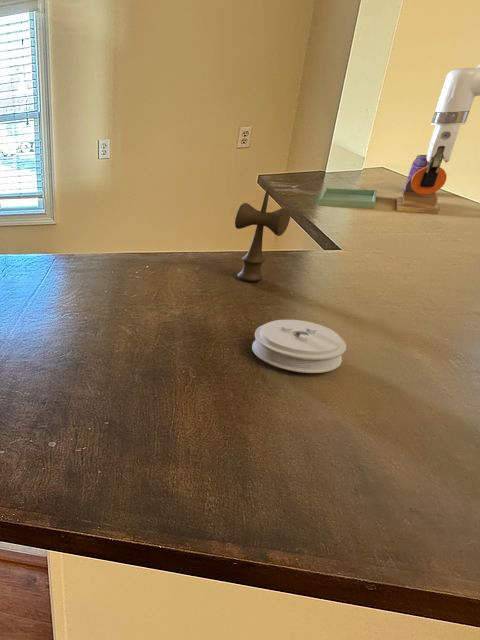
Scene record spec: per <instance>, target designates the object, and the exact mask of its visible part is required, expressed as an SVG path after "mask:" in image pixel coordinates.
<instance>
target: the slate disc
mask: <svg viewBox="0 0 480 640" xmlns="http://www.w3.org/2000/svg"><path fill="white" fill-rule="evenodd" d="M411 180H412V177H411V178H410V179H409V181H408V182H407V184H406V183H405V184H406V192H412V193H417V192H415V191H414V190H413V189H412V187H411ZM433 193H435V192H433Z"/></svg>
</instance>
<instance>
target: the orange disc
mask: <svg viewBox="0 0 480 640" xmlns="http://www.w3.org/2000/svg"><path fill="white" fill-rule="evenodd" d="M426 170H427V167H424V168H422V169H420V170H419V171H417V172H416V173H415V174H414V176H413V177H412V180H411V187H412V189H413V190H414V191H415V192H417V193H419V194H430V193H433V192H436V193H437V191H439V190H441V189H442V188H443V186H444V185H445V184H446V182H447V172H446V170H445V169H444V168H442V167H441V166H440V168H439V171H438V175H437V178H436V181H435V184H434V186H433V187H421V186H420V184H421V181H422V178H423V175H424V172H425V173H426Z"/></svg>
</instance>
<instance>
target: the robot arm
mask: <svg viewBox="0 0 480 640" xmlns="http://www.w3.org/2000/svg"><path fill="white" fill-rule="evenodd" d="M479 96H480V63H479V64H478V65H477V66H476V67H463V68H455V69H452V70H451V71H449V72H448V73H447V74H446V76H445V79H444V82H443V86H442V87H441V92H440V94H439V98H438V101H437V104H436V107H435V109H434V110H435V111H434V113H433V116H432V119H431V122H430V126H434V129H433V132H432V134H431V138H430V141H429V145H428V148H427V153H426V155H427V157H426V159H427V161H428V163H427V166H426V167H427V170H426V173H425V172H424V175H423V178H422V181H421V184H420V186H421V187H433V186H434V184H435V181H436V178H437V175H438V171H439V168H440V167H441V165H442V163H443V161H444V163H449V162H450V159H451V156H452V153H453V150H454V147H455V144H456V141H457V137H458V134H459V132H460V131H459V130H460V128H461V125H465V124H466V123H467V119H468V117H469V114H470V111H471V109H472V106H473V103H474V100H475V98H476V97H479Z"/></svg>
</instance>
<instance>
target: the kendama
mask: <svg viewBox="0 0 480 640" xmlns="http://www.w3.org/2000/svg"><path fill="white" fill-rule="evenodd" d="M269 195H270V187H267V188H266V189H265V192H264V195H263V200H262V204H261V209H260V210H258V209H256V208H255V207H253V206H252V205H251V204H249V203H248V202H244V203H242V204H241V205H239V207H238V209H237V210H236V214H235V217H234V227H235V228H236V229H237V230H240V229H245V228H247V227H250V226H256V227H255V231H254V235H253V237H252V241H251V243H250V246H249V249H248V250H247V253H246V254H245V255H243V256H242V257H241V260H242V262H243V267H242V270H241V271H239V272H238V273H237V278H238V279H240V280H242V281H245V282H259V281H261V280H262V279H264V275H263V273H262V265H263V263H265V261H266V258H265V257H264V256H263V236H264V229H265V228H267V229H269V230H270V231H271V232H272V233H273V234H274V235H275V236H277V237H280V236H282V235H283V234H284V233H285V232H286V230H287V228H288V226H289V223H290V220H291V215H292V209H291V207H290V206H288V205H286V206H283V207H280V208H279V209H276V210H274V211H270V212H268V211H267V208H268V203H269V197H270V196H269ZM264 227H265V228H264Z"/></svg>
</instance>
